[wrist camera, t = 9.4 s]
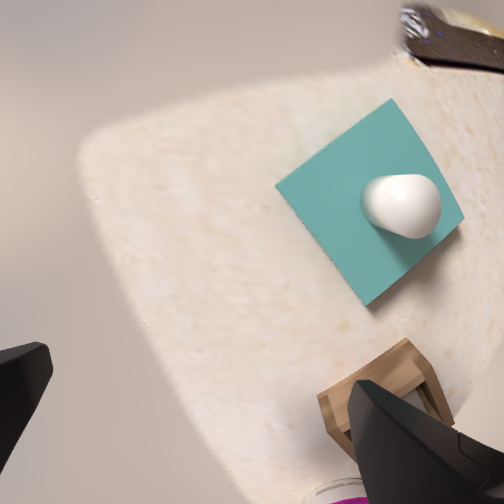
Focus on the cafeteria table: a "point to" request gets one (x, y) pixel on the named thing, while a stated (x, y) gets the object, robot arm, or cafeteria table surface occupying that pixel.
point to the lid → (373, 200)
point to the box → (392, 379)
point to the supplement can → (339, 493)
